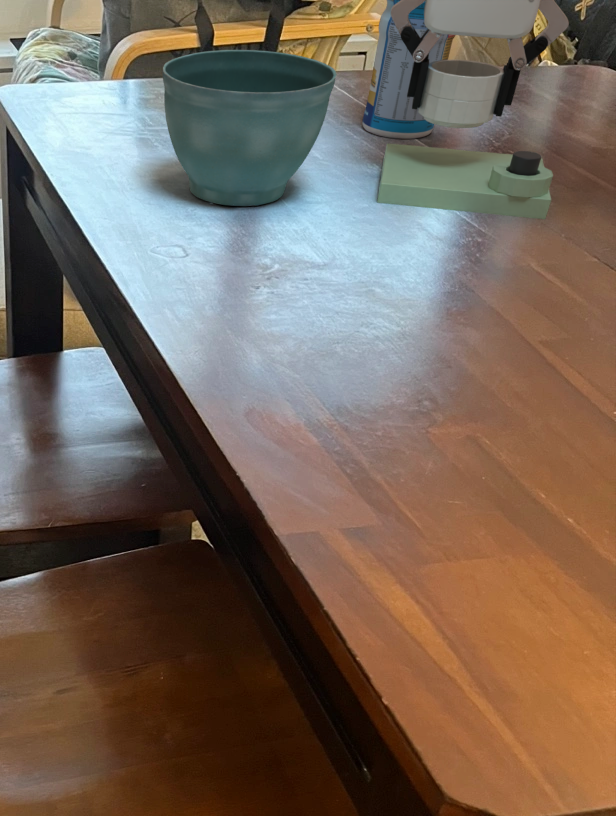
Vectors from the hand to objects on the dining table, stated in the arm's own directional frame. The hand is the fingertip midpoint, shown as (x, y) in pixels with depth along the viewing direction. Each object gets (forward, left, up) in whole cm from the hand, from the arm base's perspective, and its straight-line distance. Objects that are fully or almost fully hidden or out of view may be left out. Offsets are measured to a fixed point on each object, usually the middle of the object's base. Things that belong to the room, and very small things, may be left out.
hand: (456, 108), depth 104 cm
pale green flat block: (-2, +2, -7) cm, 7 cm away
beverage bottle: (+5, -18, -7) cm, 20 cm away
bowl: (0, 0, -1) cm, 1 cm away
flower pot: (+20, +10, -7) cm, 23 cm away
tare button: (-7, +7, -4) cm, 10 cm away
